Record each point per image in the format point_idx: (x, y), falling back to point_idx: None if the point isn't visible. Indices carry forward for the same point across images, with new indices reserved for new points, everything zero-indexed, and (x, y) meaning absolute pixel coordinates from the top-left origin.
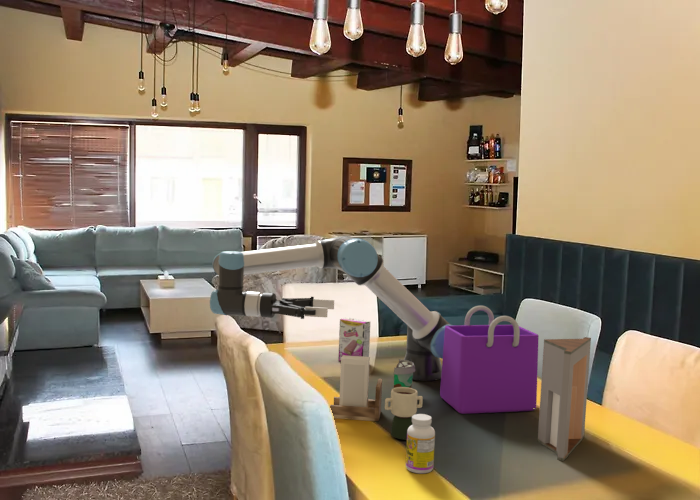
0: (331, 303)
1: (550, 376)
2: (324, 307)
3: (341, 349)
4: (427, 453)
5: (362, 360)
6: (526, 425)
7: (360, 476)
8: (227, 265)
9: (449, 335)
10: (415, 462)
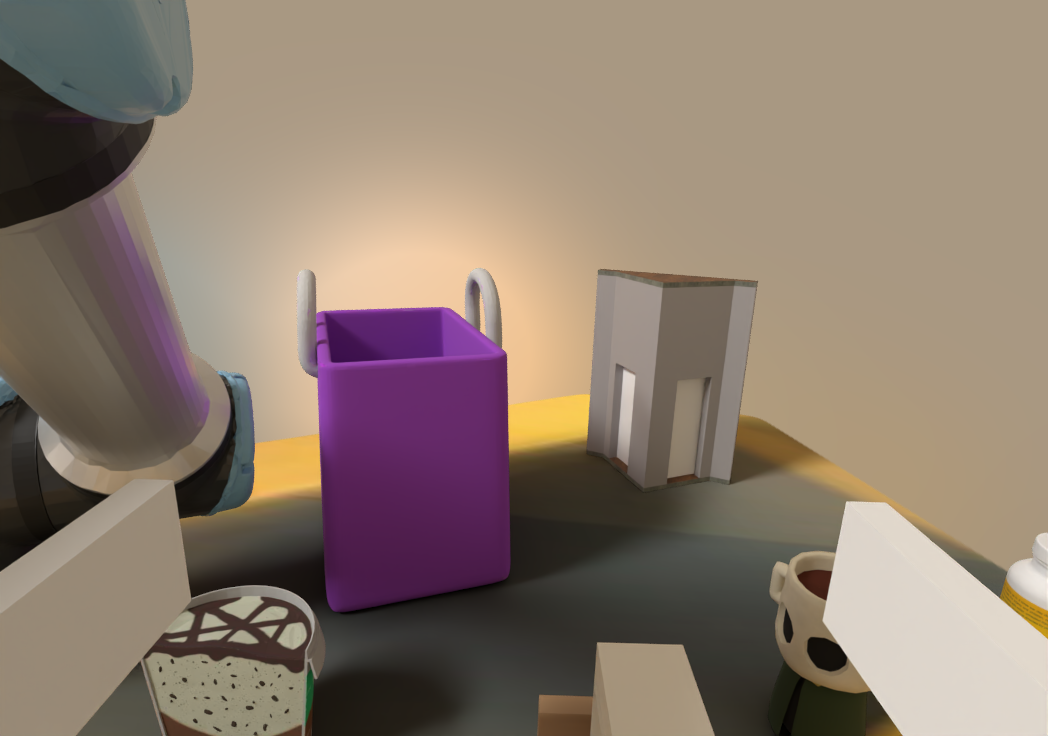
0: (153, 543)
1: (684, 352)
2: (84, 699)
3: None
4: None
5: (693, 676)
6: (552, 494)
7: None
8: None
9: (390, 386)
10: None
